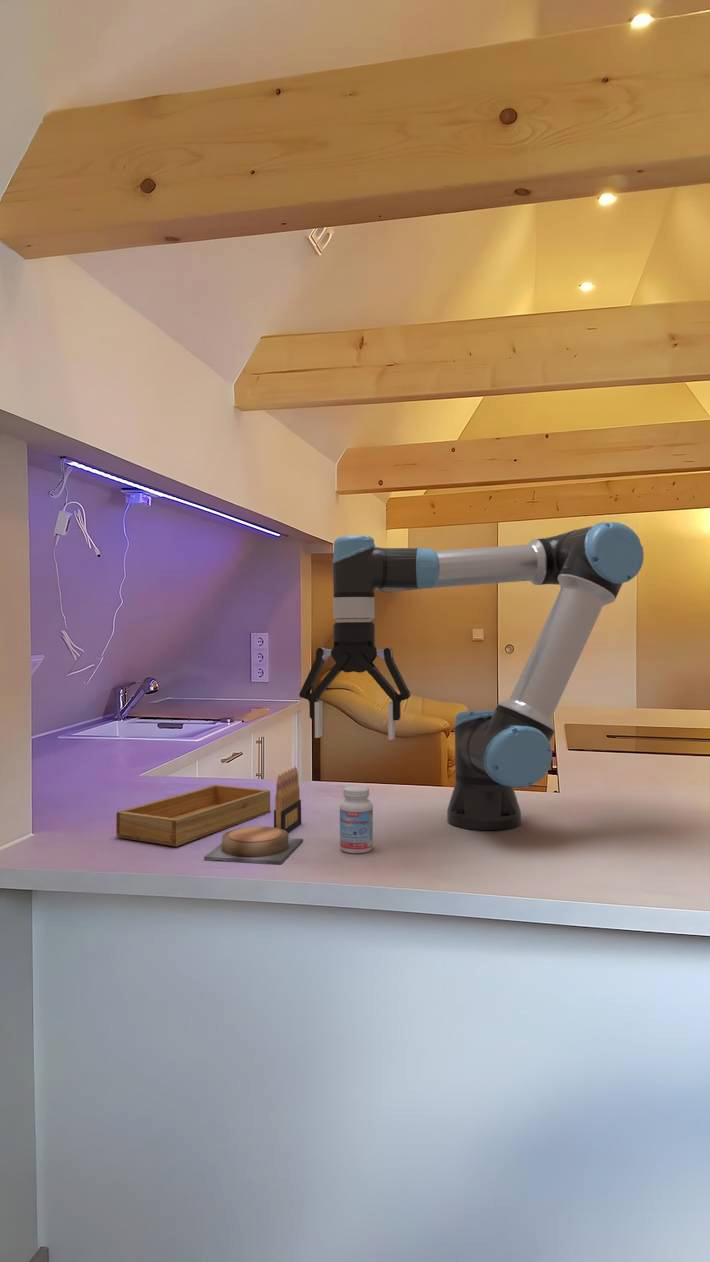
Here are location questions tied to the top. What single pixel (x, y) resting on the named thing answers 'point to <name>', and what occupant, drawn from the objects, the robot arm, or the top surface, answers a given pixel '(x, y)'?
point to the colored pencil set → (287, 801)
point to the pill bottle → (356, 820)
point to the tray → (192, 814)
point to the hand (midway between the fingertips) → (354, 737)
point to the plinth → (255, 846)
